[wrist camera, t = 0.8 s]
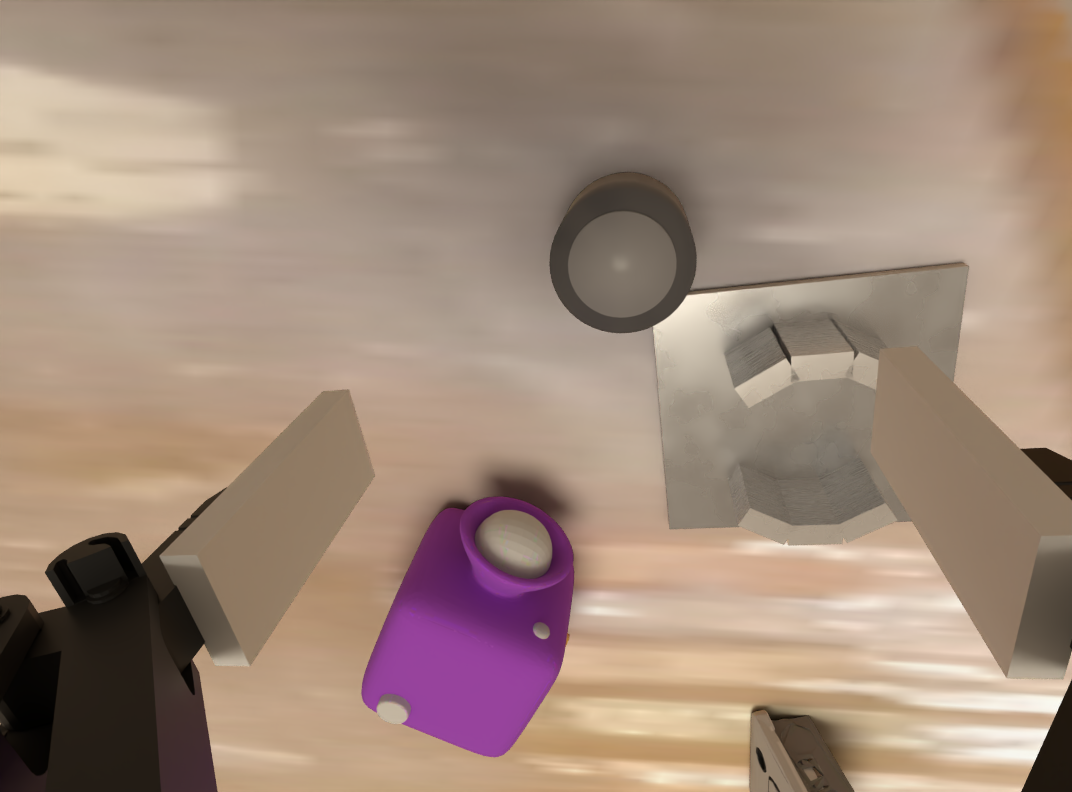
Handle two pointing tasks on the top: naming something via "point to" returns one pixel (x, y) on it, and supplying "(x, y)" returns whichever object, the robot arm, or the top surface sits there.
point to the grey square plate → (792, 398)
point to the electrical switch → (791, 757)
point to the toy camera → (476, 626)
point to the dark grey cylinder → (623, 254)
